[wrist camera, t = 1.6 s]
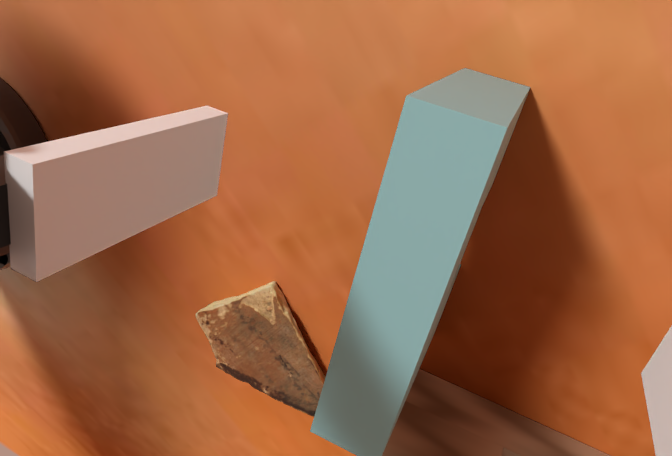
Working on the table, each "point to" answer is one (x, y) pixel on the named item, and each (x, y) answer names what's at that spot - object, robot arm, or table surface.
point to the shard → (264, 346)
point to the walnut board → (470, 426)
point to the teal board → (414, 251)
